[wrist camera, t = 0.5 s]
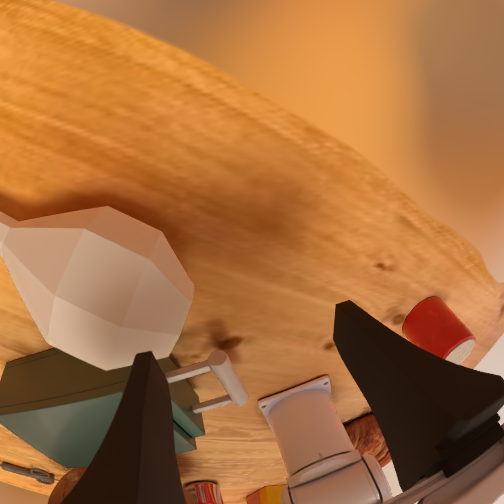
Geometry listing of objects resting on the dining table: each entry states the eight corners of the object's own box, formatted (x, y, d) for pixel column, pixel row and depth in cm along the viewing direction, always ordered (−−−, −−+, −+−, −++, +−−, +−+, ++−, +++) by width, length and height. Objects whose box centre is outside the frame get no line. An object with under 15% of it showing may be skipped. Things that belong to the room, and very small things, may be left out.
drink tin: (437, 322, 33) (469, 360, 28) (400, 342, 33) (430, 385, 27) (444, 288, 30) (482, 328, 25) (404, 309, 30) (441, 355, 24)
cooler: (134, 322, 22) (132, 389, 17) (188, 394, 28) (197, 449, 23) (5, 362, 21) (-10, 416, 16) (70, 420, 27) (67, 468, 22)
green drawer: (212, 311, 22) (223, 357, 19) (246, 380, 28) (258, 419, 24) (22, 369, 21) (13, 409, 18) (82, 422, 26) (80, 457, 23)
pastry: (325, 458, 49) (340, 493, 42) (304, 438, 40) (323, 483, 34) (406, 416, 49) (426, 448, 42) (407, 383, 40) (434, 424, 33)
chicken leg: (-29, 105, 12) (-122, 191, 6) (224, 221, 17) (183, 372, 11) (-20, 196, 18) (-80, 277, 12) (176, 294, 23) (143, 404, 17)
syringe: (-18, 448, 29) (-19, 456, 27) (82, 473, 36) (82, 483, 34) (-5, 464, 32) (-6, 472, 31) (85, 486, 39) (85, 494, 37)
